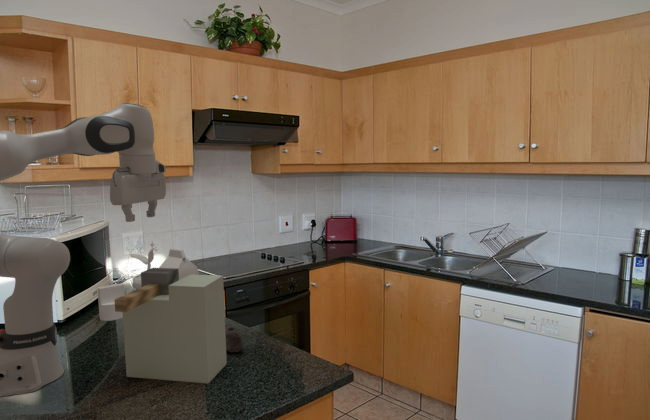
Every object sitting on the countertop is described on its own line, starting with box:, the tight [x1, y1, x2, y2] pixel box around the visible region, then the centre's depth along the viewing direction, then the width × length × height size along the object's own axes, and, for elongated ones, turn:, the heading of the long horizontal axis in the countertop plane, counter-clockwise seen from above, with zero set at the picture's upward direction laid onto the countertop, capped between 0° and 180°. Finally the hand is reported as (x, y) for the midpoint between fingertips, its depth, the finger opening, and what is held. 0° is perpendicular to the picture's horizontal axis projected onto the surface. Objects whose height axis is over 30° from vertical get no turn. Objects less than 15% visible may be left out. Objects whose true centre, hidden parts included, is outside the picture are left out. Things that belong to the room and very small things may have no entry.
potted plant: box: [129, 241, 158, 290], centre depth 200 cm, size 13×12×25 cm
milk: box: [158, 248, 200, 280], centre depth 174 cm, size 12×12×26 cm
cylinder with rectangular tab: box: [97, 282, 125, 322], centre depth 177 cm, size 9×9×12 cm
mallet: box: [115, 267, 179, 312], centre depth 124 cm, size 21×8×6 cm, turn 168°
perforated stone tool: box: [225, 324, 243, 353], centre depth 147 cm, size 15×5×7 cm, turn 21°
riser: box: [122, 274, 228, 384], centre depth 130 cm, size 12×24×26 cm, turn 79°
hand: (141, 219), depth 124 cm, fingers open, 8 cm apart
